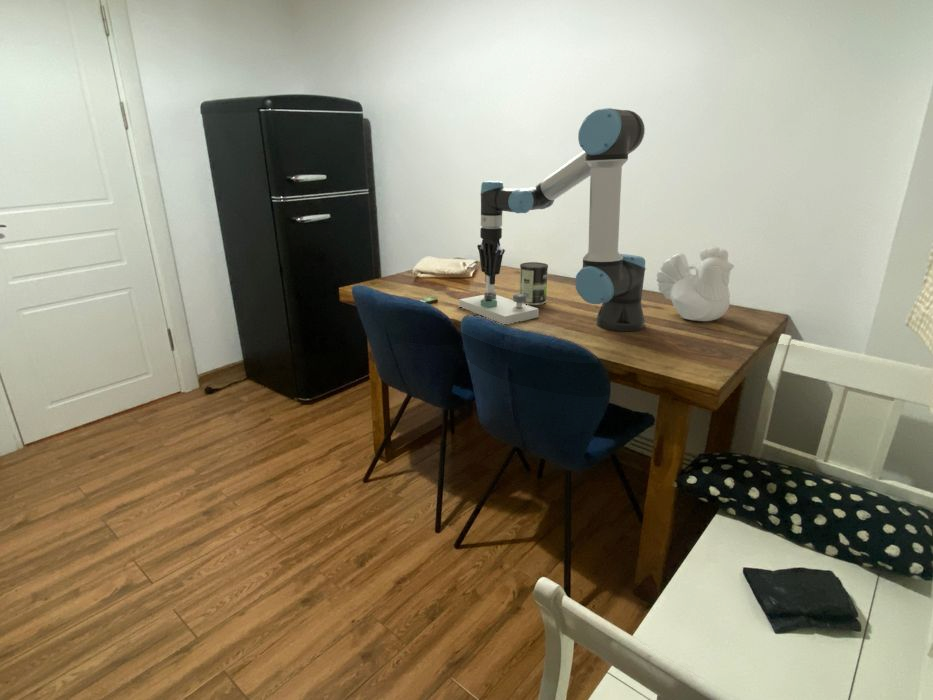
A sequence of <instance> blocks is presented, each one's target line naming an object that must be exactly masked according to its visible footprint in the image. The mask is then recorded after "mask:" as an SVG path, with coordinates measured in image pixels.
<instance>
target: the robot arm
mask: <svg viewBox="0 0 933 700" xmlns="http://www.w3.org/2000/svg"><path fill="white" fill-rule="evenodd" d="M645 130H646V128H645V124H644V121H643V119H642V117H641V116H640V114H638V113H637V112H634V111H632V110H629V109H628V110H627V109H616V108H611V107H610V108H608V107H607V108H606V107H605V108H598V109H595V110H593V111H592V112H589V114H588V115H586V116H585V118H583V120H582V122H581V124H580V126H579V129H578V133H577V134H578V136H577V137H578V140H577V141H578V144H579V146H580V148H581V149H582V152H580V153H579V154H578V155H576V156H574V157H573V158H572V159H570V160H569V161H568V162H567V163H565V164H563V165H562V166H561V167H560V168H558V169H557V170H556V171H554V172H553V173H551V174H550V175H548V176H547V177H546V178H545V179H542V181H541V182H539V183H537V184H536V185H535V186H533V187H521V188H506V187H504V183H503V181H500V180H484V181H482V182H481V185H480V226H481V227H480V228H479V229H480V234H479V235H480V239H482V240H481V243H480V244H477V250H478V253H479V262H480V270H481V273H484V275H485V279H484V281H485V292H486V293H493V292H495V284H496V276H497V275H500V273H501V267H502V262H503V258H504V257H503V256H504V253H505V252H506V249H504V248H502V247H501V242H500V240H501V239H502V236H503V235H502V234H503V228H502V226H503V212H509V213H515V214H527V213H529V211H534V210H536V211H537V210H545V209H547V208H550V207H551V206H553V204H554V202H555V200H556V199H558V198H559V197H561V196H562V195H563V194H566V192H568V191H569V190H571V189H573V188H574V187H576V186H577V185H579V184H580V183H581V182H583V181H585V180H586V179H588V178H589V177H590V178H589V181H590V182H589V209H588V210H589V215H588V217H589V218H588V245H587V246H588V251H587V253H586V254H585V255H584V256H583V257H582V268H581V269H579V271H578V272H577V274H576V276H575V279H574V286H575V290H576V292H577V294H578V295H579V297H581V298H582V300H584V301H585V302H586V303H588V304H592V305H600V304H601V306H600V309H599V310H598V314H597V315H596V324H597V325H598V326H599V328H603V329H606V330H611V331H617V332H635V331H640V330H642V329H644V327H645V322H646V320H645V317H644V311H643V307H642V296H643V289H644V280H645V271H646V269H647V268H646V259H645V258H644V257H643V256H640V255H639V256H638V255H634V254H633V255H632V254H628V253H627V254H626V253H619V239H620V238H619V237H620V236H619V235H620V234H619V233H620V214H621V213H620V212H621V191H622V172H623V171H622V170H623V166H624V165H625V164H626V163H627V161H628V160H629V155H630V154H631V153H633V152H634V151H635V150H637V148H638V147H640V145H641V143H642V141H643V139H644V137H645Z"/></svg>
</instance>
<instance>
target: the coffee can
mask: <svg viewBox="0 0 933 700" xmlns="http://www.w3.org/2000/svg"><path fill="white" fill-rule="evenodd" d="M519 267H520V270H519V294H524V295H526V301H525V302H522V303H523V304H527V305H529V306H540V305H544V303H545V304H546V303H547V289H548V287H547V286H548V285H547V284H548V269H549V264H547V263H544V262H536V261H531V262H522V263H520V265H519Z"/></svg>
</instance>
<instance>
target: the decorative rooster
mask: <svg viewBox="0 0 933 700" xmlns="http://www.w3.org/2000/svg"><path fill="white" fill-rule="evenodd" d="M699 257H700V260H701V263H700V266H699V265H697V264H690V265H689V262H688V258H687V256H686V254H684V253H683V252H680V253H679V252H678V253H676V254H673V255H672V256H671V257H670V258H668V259H666V260H665V261H664V262H663V263H662V265H661V266H660V268H659V270H658V272H657V273H656V282H658V283H657V286H658V290H659V293H661V294H663V297H664V298H665V299H667V300H669V301H671V302H672V305H673V307H674V309H675V311H676V313H678V314H679V316H680V317H681V318H682V319H684V320H689V321H698V322H710V321H714V320H718V319H720V318H721V317H723V315H724V314H726V312H727V311H728V309H729V307H730V303H731V299H730V298H731V294H730V290H729V283H730V276H731V270H733V269H734V267H735V265H734V264H732V263H730V262H729V259H728V258H729V252H728V251H727V250H726V249H723V248H722V249H721V248H720V247H717V246H710V247H707V248H706V247H704V248H702V249H701V251H700V252H699ZM692 269H693V270H695V272H696V273H695V274H693V273H692V271H691V270H692Z"/></svg>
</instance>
